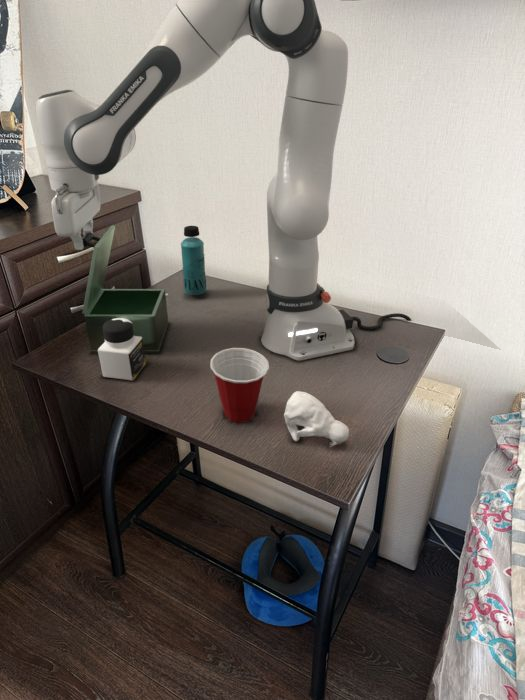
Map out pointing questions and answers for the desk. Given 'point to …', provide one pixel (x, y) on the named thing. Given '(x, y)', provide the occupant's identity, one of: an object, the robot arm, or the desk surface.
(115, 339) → the medicine bottle
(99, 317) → the green open box
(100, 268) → the lid
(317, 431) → the white figurine
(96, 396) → the desk surface
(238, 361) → the plastic cup
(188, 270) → the beverage bottle
